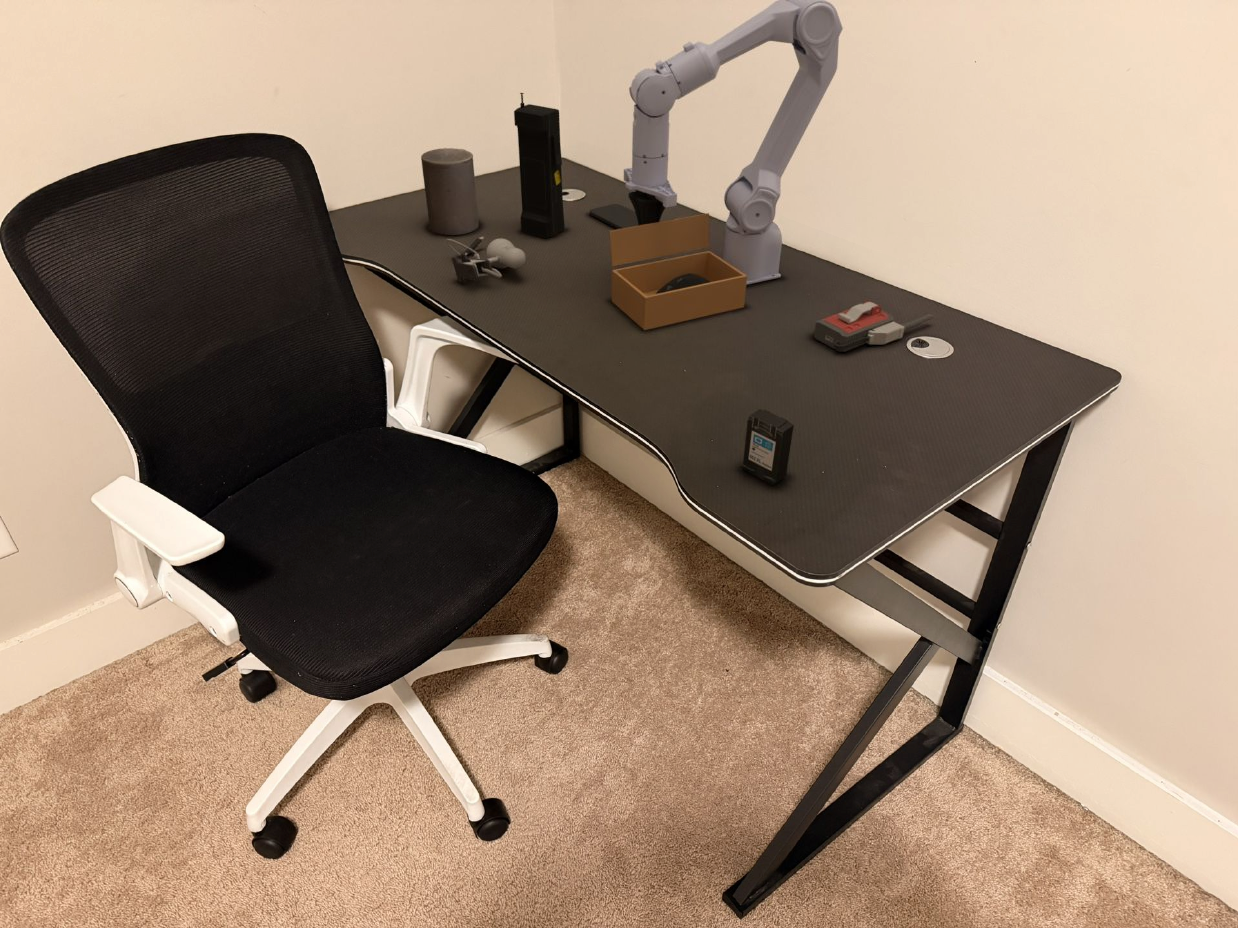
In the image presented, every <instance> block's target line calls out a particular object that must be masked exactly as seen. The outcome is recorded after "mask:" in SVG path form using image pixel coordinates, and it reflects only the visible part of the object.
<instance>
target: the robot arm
mask: <svg viewBox="0 0 1238 928" xmlns="http://www.w3.org/2000/svg"><path fill="white" fill-rule="evenodd" d="M840 19H841V18H840V16H839V14H838V11H837V9H836V7H835V6H834V5H833V4H832V3H831V2H830V1H827V0H775V1H774V2H772V3H771V4H770V5H769V6H767V7H766V8H764V9H763V10H762V11H760V12H758V13H757V14H755V15H754V16H752V17H751V18H749V19H748V20H746V21H744V22H743V23H741V24H740V25H739V26H737V27H735V28H733V29H732V30H730V31H729V32H727V33H726V34H724V35H723V36H721V37H720V38H718V39H716V40H715V41H713V42H712V43H710V44H708V43H705V42H702V41H697V42H695V43H693V42H691V41H688V42H686V43H685V44H683V45H682V47H683V50H681V51H680V52H678V53H677V54H675V55H673V56H671V57H670V58H668V59H666V60H664V61H662V60H660V59H659V60H658V61H656V62H655V63H654V66H655V68H649V67H648V68H644V69H642V70H640V71H639V72H637V73H636V75H635V76H634V77H633V79H632V81H631V84H630V86H629V88H628V90H629V96H630V98H631V99H632V101H633V103H634V105H633V121H632V139H631V140H632V145H631V147H632V148H631V152H632V153H631V154H632V155H631V167H630V168H629V167H628V168H624V169H623V181H624V182H625V188H626V189H627V190H630V191H631V192H629V193H628V199H629V201H630V202H631V204H632V207H633V209H634V212H636V216H637V220H638V225H639V226H640V225H645V224H651V223H656V222H661V218H662V215H663V213H664V211H665V209H666V208H672V207H676V206H678V193H677V192H675V190H674V189H673V187H672V185H671V183H670V181H669V180H668V177H669V176H668V175H669V173H668V171H669V147H670V146H669V145H670V111H671V110H672V109H673V107H674V105H675V102H676V100H680V99H682V98H684V97H685V96H687V95H689V94H691V93H693V92H694V91H696V90H697V89H699V88H702V87H703V86H705V85H706V84H708V83H710V82H712V81H714V80H715V79H716V78H717V76H718V72H719V70H720V68H721V66H723V65H725V64H727V63H728V62H731V61H733V60H734V59H736V58H738V57H740V56H742V55H744V54H746V53H748V52H750V51H753V50H754V49H756V48H758V47H760V46H762V45H765V44H767V42H776V43H784V44H791V46H792V47H793V50H794V53H795V57H796V59H797V63H798V70H797V72H796V74H795V76H794V78H793V80H792V82H791V84H790V86H789V88H788V90H787V91H786V94H785V96H784V97H783V100H782V102H781V103H780V106H779V108H778V110H777V112H776V114H775V116H774V118H773V119H772V122H771V124H770V126H769V128H768V129H767V132H766V134H765V136H764V137H763V140H762V142H761V144H760V146H759V148H758V150H757V152H756V153H755V156H754V158H753V159H752V162H751V163H749V164H748V165H746V166H745V167H743V168H742V170H741V171H740V174H739V175H738V177H737V178H736V179H734V181H733V182H731V183H730V184H729V185H728V186H727V188H726V189H725V192H724V198H723V201H724V205H725V207H726V209H727V210H728V211H729V213H728V217H727V219H726V221H725V229H724V231H725V232H724V241H723V256H722V259H723V260H724V261H726V262H727V263H729V264H730V265H732V266H733V267H735V268H736V269H738V270H739V271H741V272H742V273H744V274H745V275H747V284H746V286H747V285H753V284H757V283H761V282H766V281H769V280H770V281H771V280H775V279H780V278H781V276H782V275H781V273H779V269H780V261H781V255H782V246H783V236H782V231H781V229H780V227H779V225H777V223H776V222H775V221H774V220H775V217H776V209H777V203H778V201H779V199H780V197H781V190H782V189H781V187H782V185H781V180H782V177H783V175H784V173H785V171H786V169H787V167H788V166H789V163H790V161H791V159H792V157H793V156H794V153H795V152H796V150H797V148H798V146H799V144H800V143H801V141H802V138H803V136H804V134H805V133H806V130H807V129H808V127H809V125H810V123H811V121H812V119H813V117H814V115H815V113H816V112H817V109H818V107H819V106H820V104H821V102H822V100H823V98H824V97H825V94H826V93H827V90H828V88H829V86H830V84H831V83H832V81H833V78H834V77H835V75H836V73H837V70H838V63H839V41H840V40H839V39H840V35H841V33H842V32H843V29H844V27H843V25H842V22H841V20H840Z"/></svg>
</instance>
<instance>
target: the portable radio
mask: <svg viewBox="0 0 1238 928" xmlns="http://www.w3.org/2000/svg"><path fill="white" fill-rule="evenodd" d="M519 94H520V100H521V102H520V105H519V106H520V107H517V108H516V109H514V111H513V117H514V118H513V119H514V126H515V127H516V128H517V144H518V160H519V161H518V162H519V178H520V197H521V198H520V199H521V214H520V229H521V232H522V233H524V234H529V235H531V236H535V237H540V238H543V239H549V238H551V237H554V236H556V235H558V234H560V233H561V232H563V231H565V229H566V228H565V227H566V225H565V214H564V196H563V194H564V193H563V174H562V166H563V160H562V158H563V157H562V147H561V124H560V122H561V121H560V110H559V109H558V108H553V107H547V106H542V105H537V104H531V103H529V104H525V103H524V94H525V93H524V92H519Z"/></svg>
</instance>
